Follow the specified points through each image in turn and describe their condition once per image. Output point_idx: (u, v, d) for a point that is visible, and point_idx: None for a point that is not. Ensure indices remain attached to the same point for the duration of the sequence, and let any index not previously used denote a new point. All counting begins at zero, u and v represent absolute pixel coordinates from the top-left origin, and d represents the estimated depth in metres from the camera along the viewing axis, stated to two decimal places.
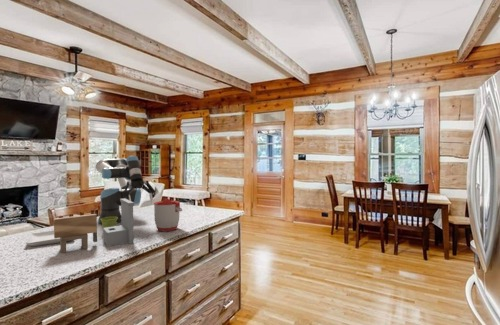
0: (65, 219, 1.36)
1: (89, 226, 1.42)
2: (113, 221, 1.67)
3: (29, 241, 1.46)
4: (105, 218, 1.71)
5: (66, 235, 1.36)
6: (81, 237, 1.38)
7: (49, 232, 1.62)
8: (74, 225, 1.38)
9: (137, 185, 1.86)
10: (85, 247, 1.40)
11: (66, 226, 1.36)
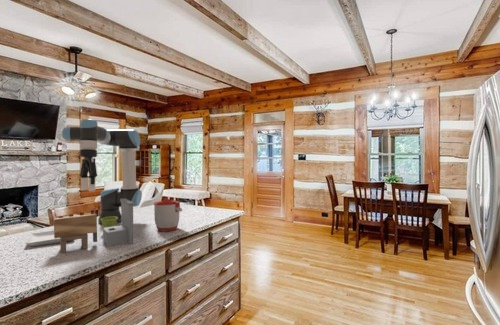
0: (65, 219, 1.36)
1: (89, 226, 1.42)
2: (113, 221, 1.67)
3: (29, 241, 1.46)
4: (105, 218, 1.71)
5: (66, 235, 1.36)
6: (81, 237, 1.38)
7: (49, 232, 1.62)
8: (74, 225, 1.38)
9: (85, 165, 1.44)
10: (85, 247, 1.40)
11: (66, 226, 1.36)
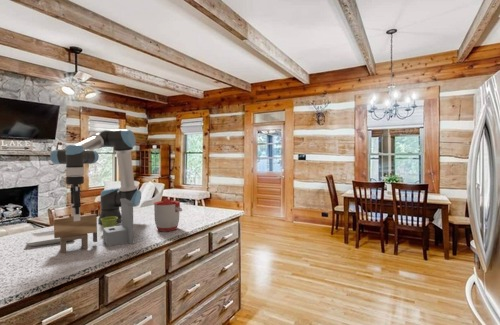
0: (65, 219, 1.36)
1: (89, 226, 1.42)
2: (113, 221, 1.67)
3: (29, 241, 1.46)
4: (105, 218, 1.71)
5: (66, 235, 1.36)
6: (81, 237, 1.38)
7: (49, 232, 1.62)
8: (74, 225, 1.38)
9: None
10: (85, 247, 1.40)
11: (66, 226, 1.36)
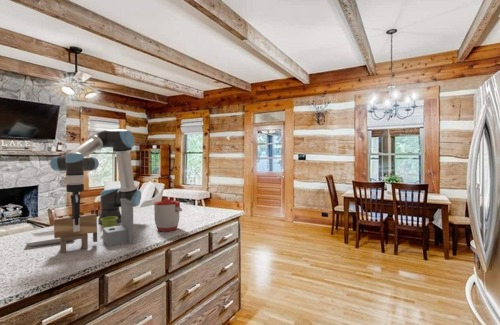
0: (65, 219, 1.36)
1: (89, 226, 1.42)
2: (113, 221, 1.67)
3: (29, 241, 1.46)
4: (105, 218, 1.71)
5: (66, 235, 1.36)
6: (81, 237, 1.38)
7: (49, 232, 1.62)
8: None
9: None
10: (85, 247, 1.40)
11: (66, 226, 1.36)
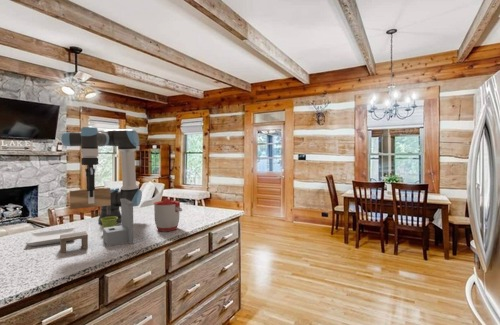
0: (80, 191, 1.40)
1: (103, 199, 1.46)
2: (113, 221, 1.67)
3: (29, 241, 1.46)
4: (105, 218, 1.71)
5: (81, 207, 1.40)
6: (81, 237, 1.38)
7: (49, 232, 1.62)
8: None
9: None
10: (85, 247, 1.40)
11: (81, 198, 1.40)
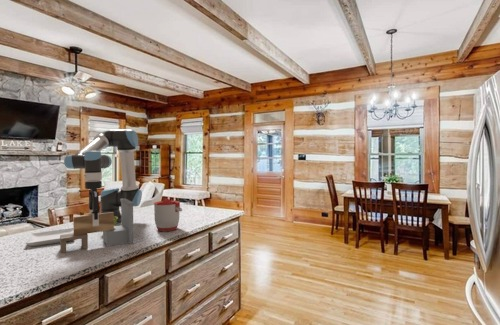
0: (84, 217, 1.41)
1: (106, 224, 1.47)
2: None
3: (29, 241, 1.46)
4: None
5: (85, 232, 1.41)
6: (81, 237, 1.38)
7: (49, 232, 1.62)
8: (92, 223, 1.43)
9: None
10: (85, 247, 1.40)
11: (85, 224, 1.41)
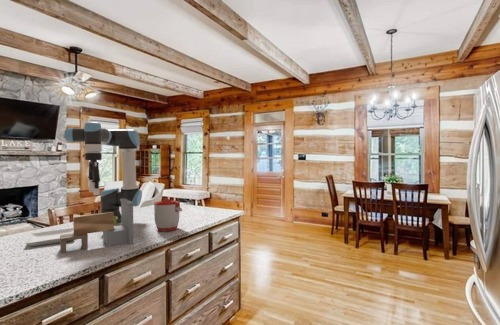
0: (84, 217, 1.41)
1: (106, 224, 1.47)
2: None
3: (29, 241, 1.46)
4: None
5: (85, 232, 1.41)
6: (81, 237, 1.38)
7: (49, 232, 1.62)
8: (92, 223, 1.43)
9: None
10: (85, 247, 1.40)
11: (85, 224, 1.41)
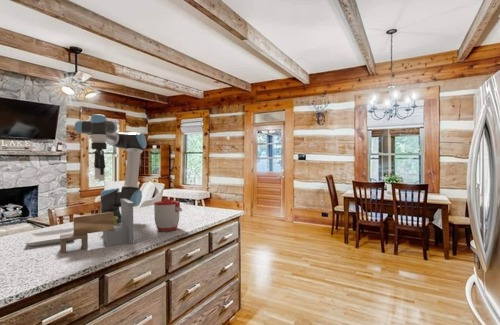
0: (84, 217, 1.41)
1: (106, 224, 1.47)
2: None
3: (29, 241, 1.46)
4: None
5: (85, 232, 1.41)
6: (81, 237, 1.38)
7: (49, 232, 1.62)
8: (92, 223, 1.43)
9: (96, 156, 1.58)
10: (85, 247, 1.40)
11: (85, 224, 1.41)
